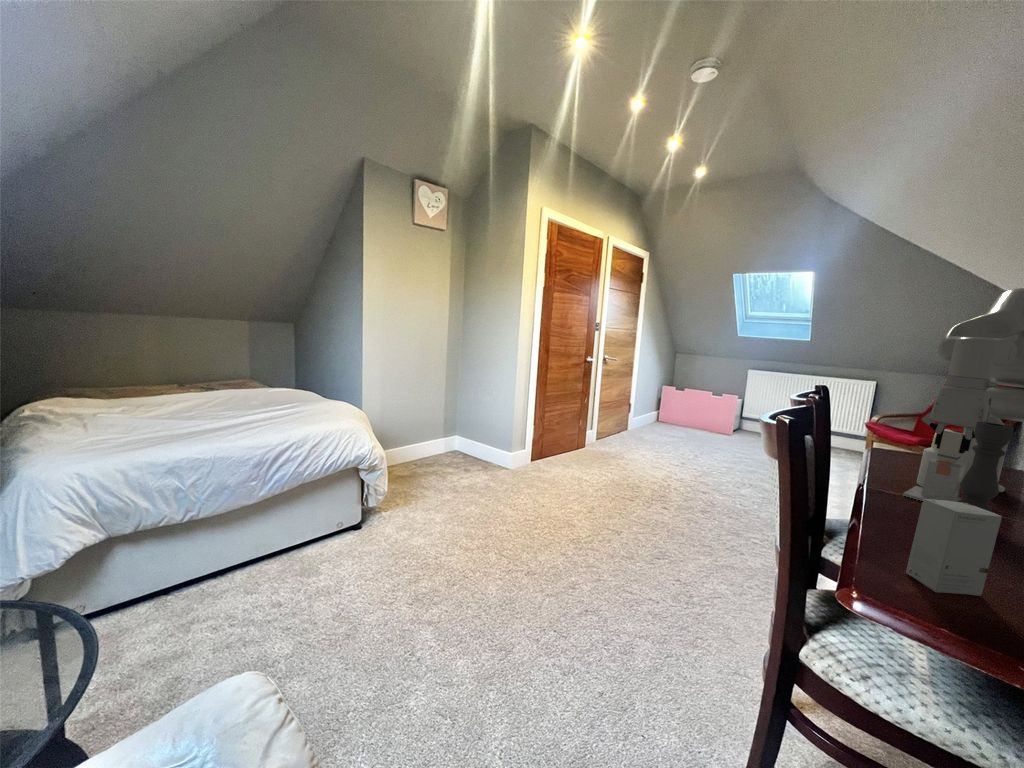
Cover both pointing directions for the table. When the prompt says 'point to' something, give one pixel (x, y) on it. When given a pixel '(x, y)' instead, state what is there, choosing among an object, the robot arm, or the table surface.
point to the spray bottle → (927, 460)
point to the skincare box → (953, 546)
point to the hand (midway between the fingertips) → (950, 449)
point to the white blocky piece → (939, 482)
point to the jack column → (950, 447)
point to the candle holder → (985, 464)
